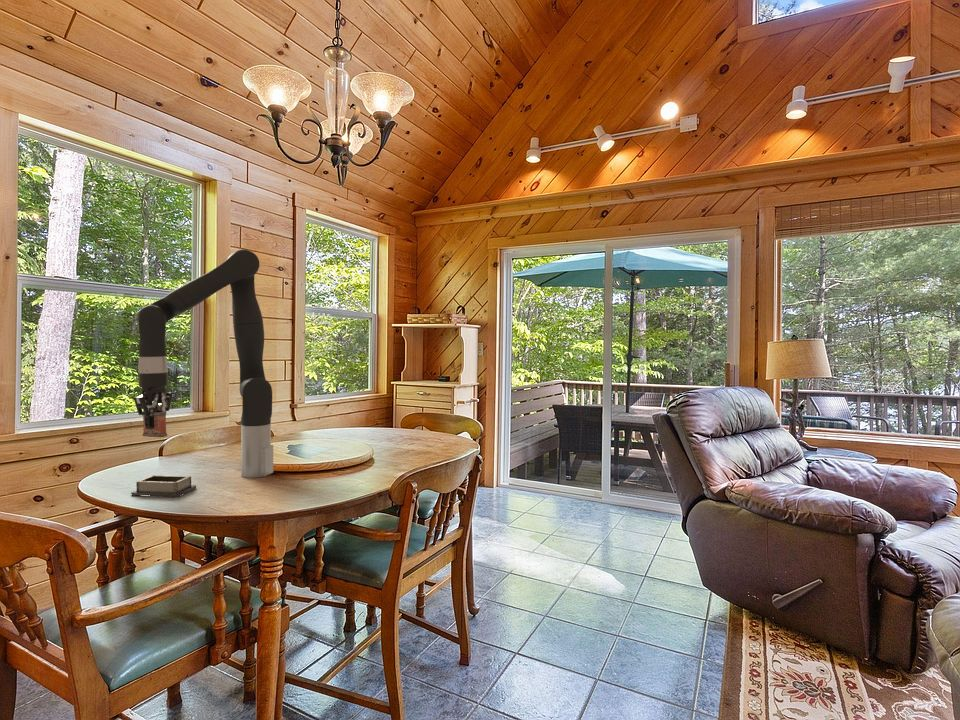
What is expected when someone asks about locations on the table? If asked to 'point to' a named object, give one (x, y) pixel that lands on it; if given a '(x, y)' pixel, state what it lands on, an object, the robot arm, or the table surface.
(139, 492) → the rectangular tray
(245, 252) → the robot arm
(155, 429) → the lighter
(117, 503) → the table surface
